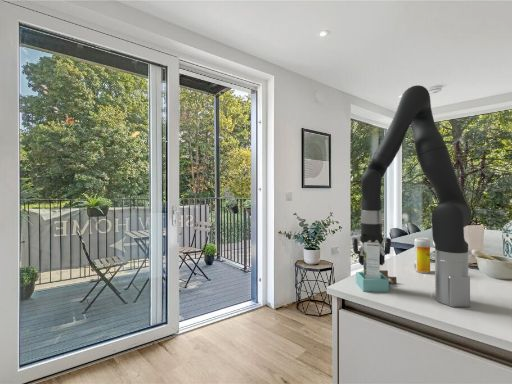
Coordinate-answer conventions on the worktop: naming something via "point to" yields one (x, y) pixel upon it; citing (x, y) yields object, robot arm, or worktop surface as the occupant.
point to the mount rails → (391, 279)
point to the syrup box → (371, 260)
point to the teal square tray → (372, 283)
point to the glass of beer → (422, 255)
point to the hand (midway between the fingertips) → (371, 264)
